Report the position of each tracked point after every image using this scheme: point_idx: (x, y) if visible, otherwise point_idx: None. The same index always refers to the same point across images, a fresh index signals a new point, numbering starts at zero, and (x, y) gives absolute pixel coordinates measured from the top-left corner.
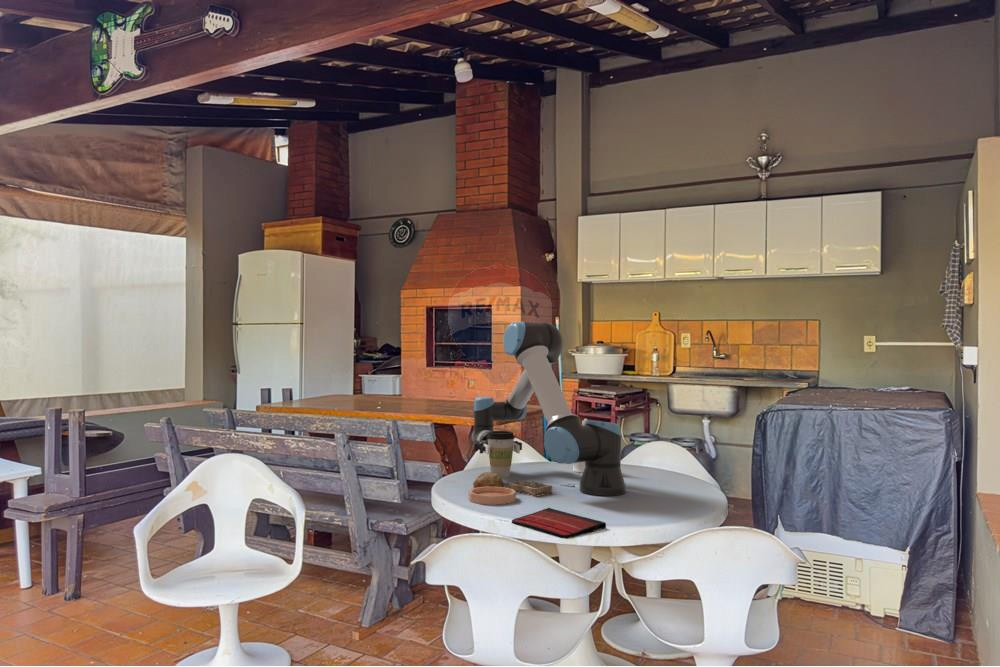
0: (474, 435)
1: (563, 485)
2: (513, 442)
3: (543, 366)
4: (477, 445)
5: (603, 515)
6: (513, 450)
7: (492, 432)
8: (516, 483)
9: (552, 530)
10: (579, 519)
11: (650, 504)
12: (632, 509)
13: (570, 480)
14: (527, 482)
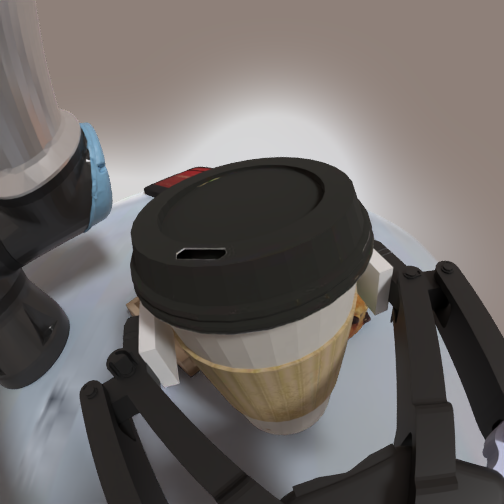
0: None
1: (69, 409)
2: (131, 470)
3: None
4: (432, 273)
5: (121, 223)
6: (175, 365)
7: (323, 202)
8: None
9: (204, 168)
10: (166, 185)
11: (33, 277)
12: (70, 252)
13: (28, 476)
14: (179, 349)
